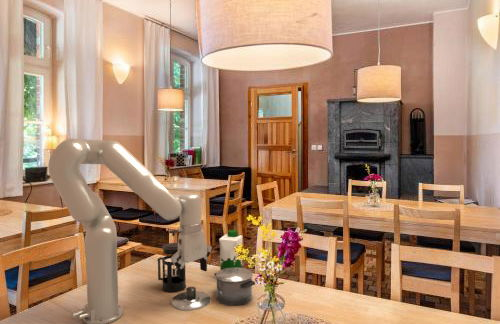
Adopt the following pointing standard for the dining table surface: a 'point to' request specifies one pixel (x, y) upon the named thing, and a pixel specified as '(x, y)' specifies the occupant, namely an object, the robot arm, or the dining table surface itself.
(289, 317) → the dining table surface
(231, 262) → the milk carton
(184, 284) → the french press
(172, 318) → the dining table surface
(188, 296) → the lid
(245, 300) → the pot
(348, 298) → the dining table surface
